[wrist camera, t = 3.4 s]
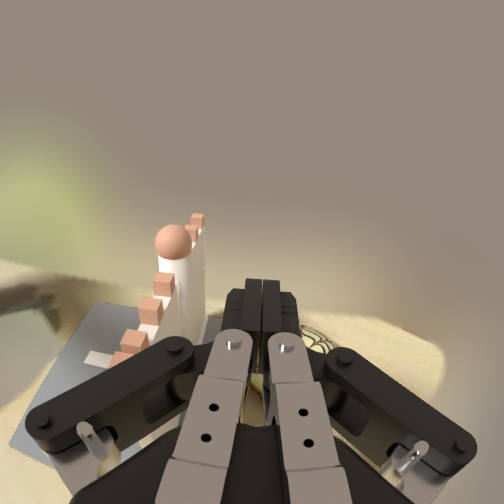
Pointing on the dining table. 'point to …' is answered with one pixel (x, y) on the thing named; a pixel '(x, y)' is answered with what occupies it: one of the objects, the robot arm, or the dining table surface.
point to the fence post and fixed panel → (186, 271)
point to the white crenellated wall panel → (153, 332)
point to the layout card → (92, 364)
